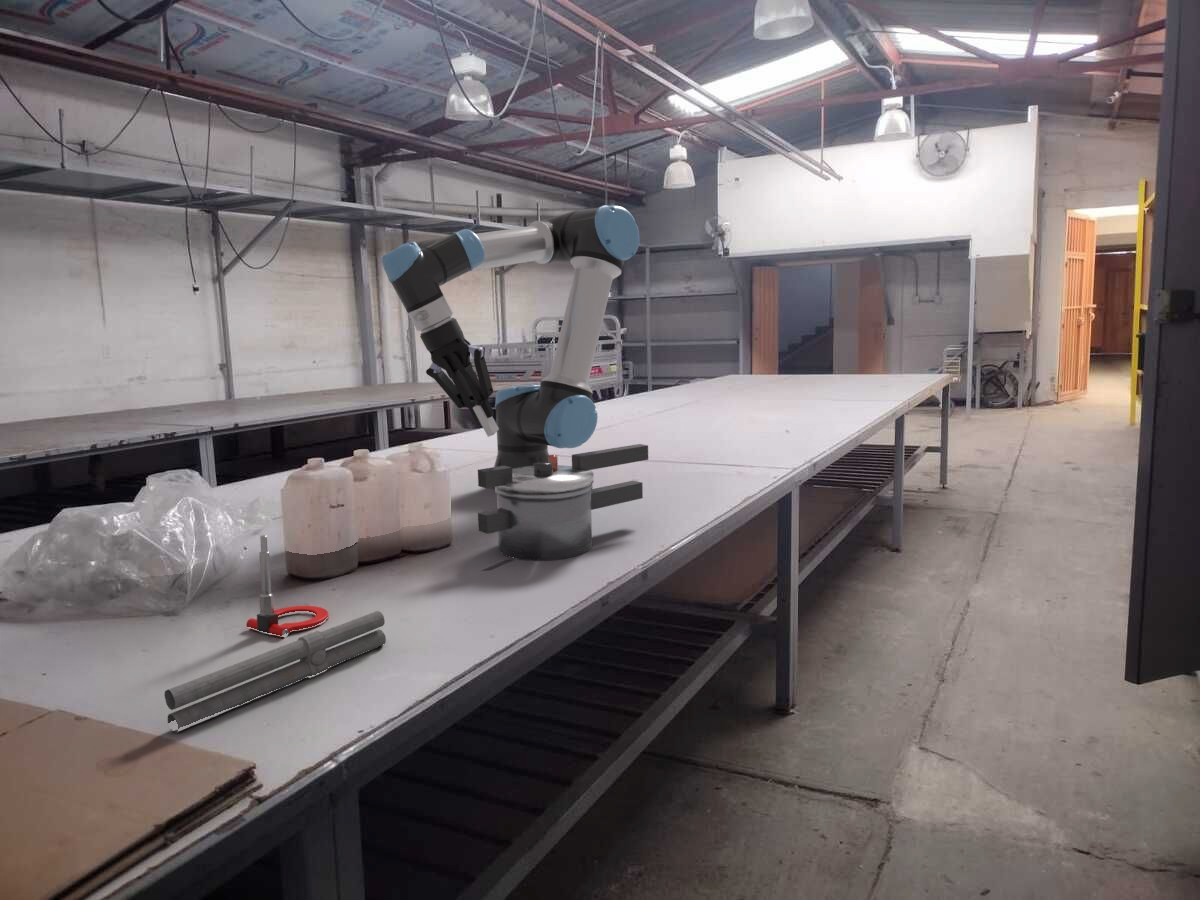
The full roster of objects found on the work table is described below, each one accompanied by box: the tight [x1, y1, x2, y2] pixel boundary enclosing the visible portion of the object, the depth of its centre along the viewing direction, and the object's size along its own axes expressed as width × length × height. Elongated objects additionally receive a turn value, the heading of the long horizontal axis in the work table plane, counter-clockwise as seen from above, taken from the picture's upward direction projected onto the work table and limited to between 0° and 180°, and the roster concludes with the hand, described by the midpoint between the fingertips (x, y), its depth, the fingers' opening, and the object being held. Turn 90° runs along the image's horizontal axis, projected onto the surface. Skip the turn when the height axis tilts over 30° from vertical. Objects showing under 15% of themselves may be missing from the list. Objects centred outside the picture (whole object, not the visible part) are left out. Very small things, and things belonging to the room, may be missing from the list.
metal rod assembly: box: [163, 610, 387, 729], centre depth 89 cm, size 26×3×5 cm, turn 144°
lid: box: [477, 443, 649, 494], centre depth 140 cm, size 35×17×4 cm, turn 129°
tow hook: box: [245, 534, 329, 636], centre depth 106 cm, size 8×13×9 cm
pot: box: [477, 480, 644, 562], centre depth 141 cm, size 26×26×11 cm
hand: (493, 432), depth 159 cm, fingers closed
